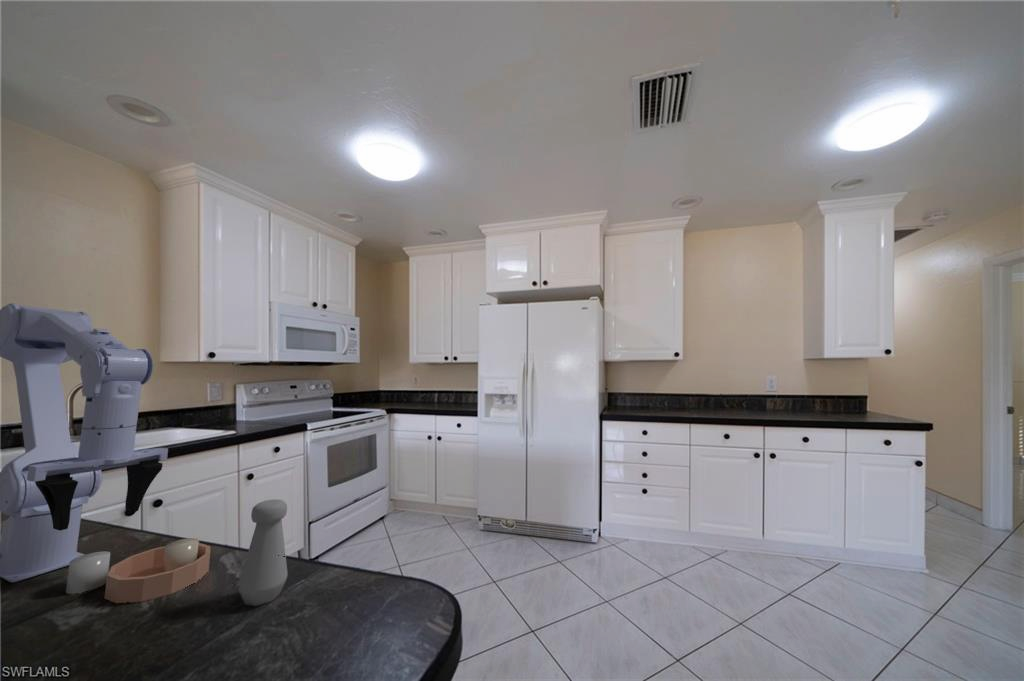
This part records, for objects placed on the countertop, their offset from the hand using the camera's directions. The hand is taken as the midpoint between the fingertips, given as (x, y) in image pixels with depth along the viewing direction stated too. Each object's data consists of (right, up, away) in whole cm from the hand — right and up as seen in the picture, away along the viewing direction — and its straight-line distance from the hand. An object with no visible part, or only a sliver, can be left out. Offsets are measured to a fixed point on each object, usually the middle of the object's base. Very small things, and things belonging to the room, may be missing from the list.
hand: (98, 519), depth 55 cm
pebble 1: (0, -9, -1) cm, 9 cm away
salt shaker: (+27, -10, -3) cm, 28 cm away
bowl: (+9, -10, +1) cm, 13 cm away
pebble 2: (+10, -10, +3) cm, 14 cm away
